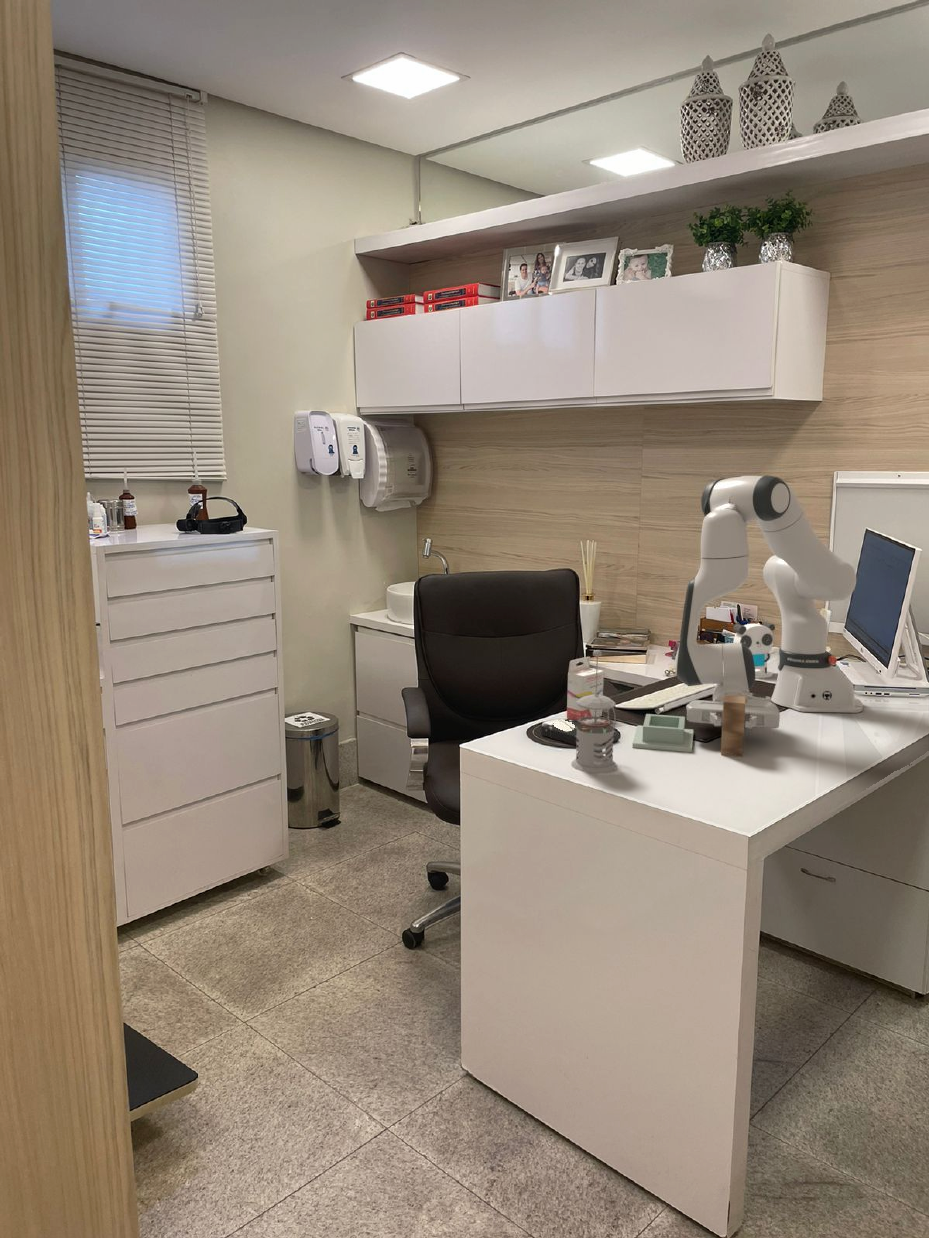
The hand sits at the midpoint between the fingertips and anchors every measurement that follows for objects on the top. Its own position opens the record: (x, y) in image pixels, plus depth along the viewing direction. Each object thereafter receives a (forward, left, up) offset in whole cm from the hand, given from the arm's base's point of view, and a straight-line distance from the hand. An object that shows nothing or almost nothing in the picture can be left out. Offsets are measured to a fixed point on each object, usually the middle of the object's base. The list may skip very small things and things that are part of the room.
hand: (733, 724), depth 207 cm
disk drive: (+34, -2, -7) cm, 35 cm away
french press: (+28, +15, -7) cm, 33 cm away
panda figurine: (-7, -77, -7) cm, 78 cm away
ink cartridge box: (+35, -19, -7) cm, 40 cm away
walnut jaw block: (0, -1, -7) cm, 7 cm away
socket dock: (+15, -5, -7) cm, 17 cm away
